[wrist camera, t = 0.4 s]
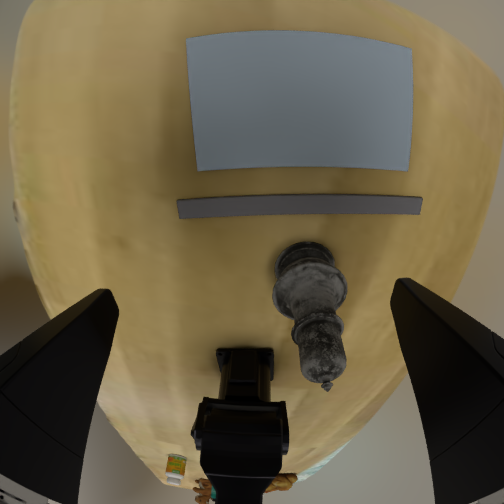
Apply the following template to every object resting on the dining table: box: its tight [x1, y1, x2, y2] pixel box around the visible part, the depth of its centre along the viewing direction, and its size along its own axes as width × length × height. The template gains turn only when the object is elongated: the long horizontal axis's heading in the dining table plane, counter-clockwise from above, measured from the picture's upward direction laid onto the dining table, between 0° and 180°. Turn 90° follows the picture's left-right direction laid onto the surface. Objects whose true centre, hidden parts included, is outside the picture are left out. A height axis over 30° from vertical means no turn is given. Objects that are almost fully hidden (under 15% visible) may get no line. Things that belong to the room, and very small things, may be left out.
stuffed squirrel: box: [193, 479, 213, 504], centre depth 81 cm, size 10×14×13 cm
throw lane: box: [177, 30, 423, 219], centre depth 17 cm, size 14×20×1 cm
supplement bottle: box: [166, 454, 186, 485], centre depth 57 cm, size 5×5×10 cm
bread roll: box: [264, 474, 298, 493], centre depth 68 cm, size 13×10×8 cm
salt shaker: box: [272, 242, 347, 392], centre depth 18 cm, size 6×6×12 cm
